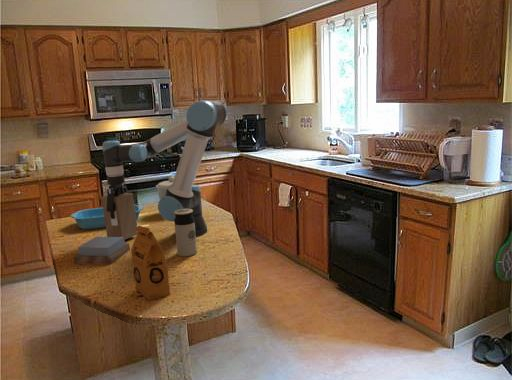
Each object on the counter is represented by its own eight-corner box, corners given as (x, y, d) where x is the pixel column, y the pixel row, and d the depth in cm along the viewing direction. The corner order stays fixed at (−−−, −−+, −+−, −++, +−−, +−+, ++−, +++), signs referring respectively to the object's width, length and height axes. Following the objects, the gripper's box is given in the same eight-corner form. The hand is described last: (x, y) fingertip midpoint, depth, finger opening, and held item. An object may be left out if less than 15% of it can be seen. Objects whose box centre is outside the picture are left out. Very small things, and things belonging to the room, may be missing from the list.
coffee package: (144, 304, 130) (136, 236, 126) (132, 290, 141) (124, 227, 136) (174, 295, 135) (168, 229, 131) (161, 282, 146) (154, 221, 141)
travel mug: (173, 253, 173) (169, 211, 170) (190, 248, 178) (186, 207, 175) (183, 258, 167) (179, 214, 164) (200, 253, 172) (197, 210, 169)
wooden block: (123, 232, 203) (117, 191, 199) (138, 234, 198) (133, 192, 194) (107, 238, 194) (100, 196, 190) (122, 241, 189) (116, 197, 185)
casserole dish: (143, 213, 242) (141, 201, 240) (146, 223, 221) (144, 210, 220) (74, 222, 230) (72, 210, 229) (70, 234, 210) (68, 220, 208)
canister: (181, 207, 252) (177, 172, 247) (197, 212, 238) (194, 175, 233) (153, 213, 240) (149, 177, 236) (168, 219, 227) (164, 180, 222)
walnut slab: (130, 251, 181) (129, 243, 180) (111, 265, 166) (110, 257, 165) (95, 251, 184) (94, 243, 183) (74, 265, 168) (73, 256, 168)
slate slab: (125, 244, 179) (124, 237, 178) (108, 256, 166) (107, 247, 165) (97, 244, 181) (96, 236, 181) (79, 255, 169) (78, 247, 168)
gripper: (119, 171, 202) (125, 214, 206) (93, 180, 179) (100, 229, 183) (134, 170, 201) (140, 214, 205) (109, 179, 178) (116, 229, 182)
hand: (121, 221), depth 194 cm, fingers closed on wooden block, 12 cm apart
